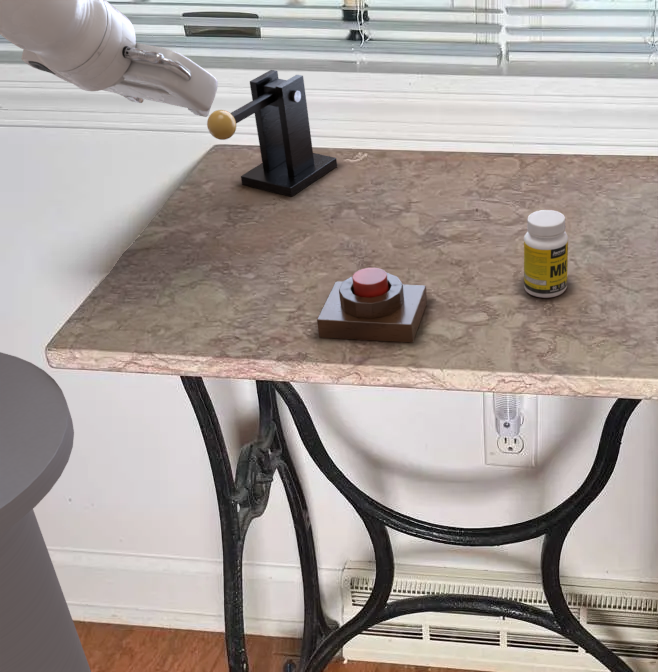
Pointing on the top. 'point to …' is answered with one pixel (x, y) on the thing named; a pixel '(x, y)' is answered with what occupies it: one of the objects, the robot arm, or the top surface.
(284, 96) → the bracket
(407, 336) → the button block
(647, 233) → the top surface
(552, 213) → the supplement bottle
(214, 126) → the lever
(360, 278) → the button
